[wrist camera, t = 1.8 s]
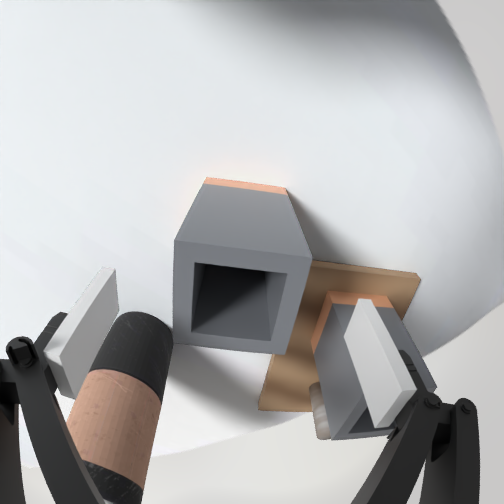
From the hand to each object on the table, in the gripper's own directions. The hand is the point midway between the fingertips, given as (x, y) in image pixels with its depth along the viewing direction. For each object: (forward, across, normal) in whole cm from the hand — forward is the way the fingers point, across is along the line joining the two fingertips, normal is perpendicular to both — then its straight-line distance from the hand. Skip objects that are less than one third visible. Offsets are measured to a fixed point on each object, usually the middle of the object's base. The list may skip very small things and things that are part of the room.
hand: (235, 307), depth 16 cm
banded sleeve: (+12, 0, +1) cm, 12 cm away
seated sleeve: (+11, +12, -8) cm, 18 cm away
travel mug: (+12, -9, -14) cm, 21 cm away
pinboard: (+12, +12, -13) cm, 22 cm away
